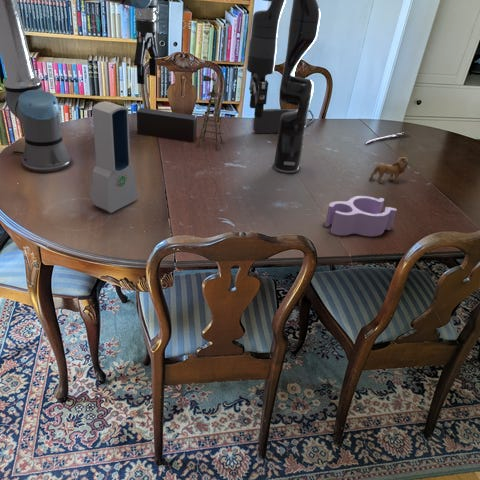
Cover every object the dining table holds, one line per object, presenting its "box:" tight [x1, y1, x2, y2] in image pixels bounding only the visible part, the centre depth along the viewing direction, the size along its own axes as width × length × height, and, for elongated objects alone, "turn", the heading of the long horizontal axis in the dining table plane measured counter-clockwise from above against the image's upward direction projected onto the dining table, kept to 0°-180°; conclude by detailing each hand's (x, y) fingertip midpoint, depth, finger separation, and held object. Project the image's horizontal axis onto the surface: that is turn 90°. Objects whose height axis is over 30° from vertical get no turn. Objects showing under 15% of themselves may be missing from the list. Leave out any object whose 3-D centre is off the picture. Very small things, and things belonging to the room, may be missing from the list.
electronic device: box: [89, 101, 139, 214], centre depth 133 cm, size 12×8×30 cm, turn 148°
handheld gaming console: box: [252, 108, 298, 134], centre depth 205 cm, size 23×3×10 cm, turn 108°
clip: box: [324, 195, 398, 237], centre depth 141 cm, size 20×12×7 cm, turn 109°
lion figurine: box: [368, 156, 409, 184], centre depth 171 cm, size 15×5×9 cm, turn 110°
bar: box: [136, 107, 198, 143], centre depth 189 cm, size 23×5×9 cm, turn 81°
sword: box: [365, 132, 410, 145], centre depth 213 cm, size 31×3×1 cm, turn 126°
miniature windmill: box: [197, 67, 224, 150], centre depth 180 cm, size 9×8×30 cm
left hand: (147, 79), depth 181 cm, fingers open, 13 cm apart
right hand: (255, 112), depth 136 cm, fingers open, 8 cm apart
